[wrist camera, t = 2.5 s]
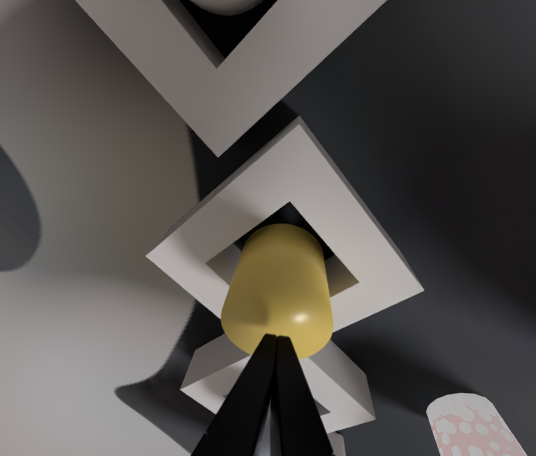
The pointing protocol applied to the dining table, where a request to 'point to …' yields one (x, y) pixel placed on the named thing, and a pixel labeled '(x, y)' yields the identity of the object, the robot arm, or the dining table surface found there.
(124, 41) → the offwhite housing
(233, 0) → the offwhite button
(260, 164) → the hollow square frame
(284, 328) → the mustard button
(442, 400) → the beverage cup
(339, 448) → the jar
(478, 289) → the dining table surface
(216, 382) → the light gray housing
